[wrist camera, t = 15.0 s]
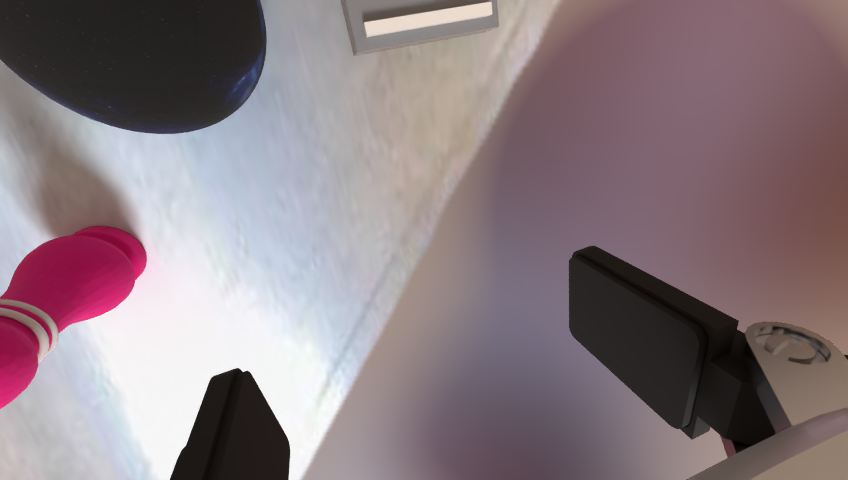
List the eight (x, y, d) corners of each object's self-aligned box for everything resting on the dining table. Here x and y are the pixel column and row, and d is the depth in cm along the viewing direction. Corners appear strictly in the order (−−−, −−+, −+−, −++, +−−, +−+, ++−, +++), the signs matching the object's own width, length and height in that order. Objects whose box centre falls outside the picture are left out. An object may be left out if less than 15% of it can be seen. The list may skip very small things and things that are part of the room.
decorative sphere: (92, 121, 29) (-94, 139, 16) (30, -107, 24) (-331, -371, 10) (282, 130, 34) (262, 151, 20) (267, -60, 28) (226, -202, 15)
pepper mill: (39, 238, 31) (-323, 423, 13) (121, 209, 32) (-114, 344, 14) (96, 299, 34) (-135, 513, 17) (169, 271, 35) (24, 444, 18)
